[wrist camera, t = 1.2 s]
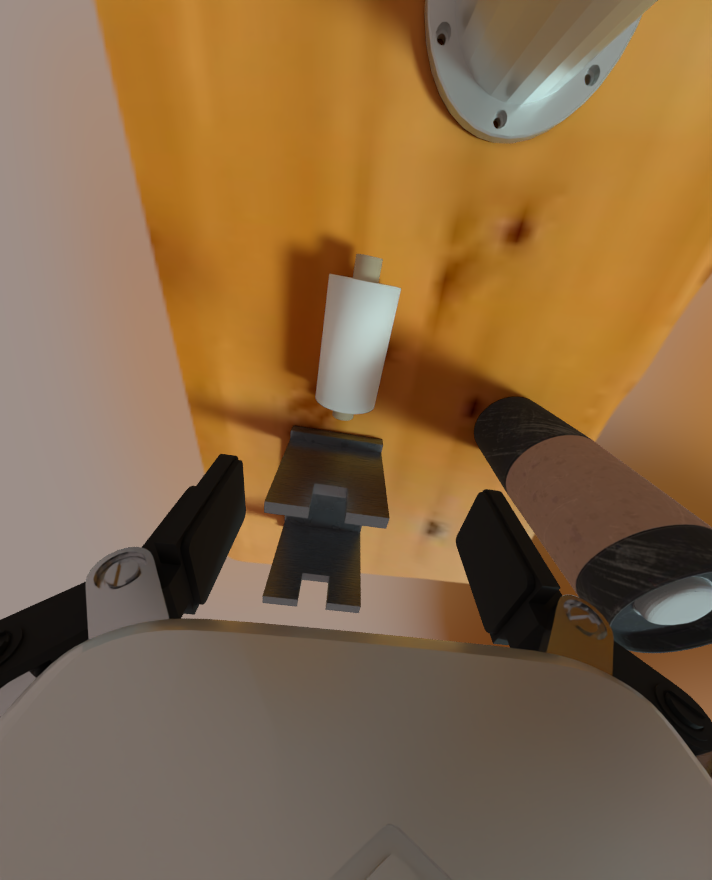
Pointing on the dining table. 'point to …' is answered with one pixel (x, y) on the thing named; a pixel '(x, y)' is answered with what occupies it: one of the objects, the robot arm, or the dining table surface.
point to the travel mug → (604, 527)
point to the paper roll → (355, 339)
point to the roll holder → (325, 514)
